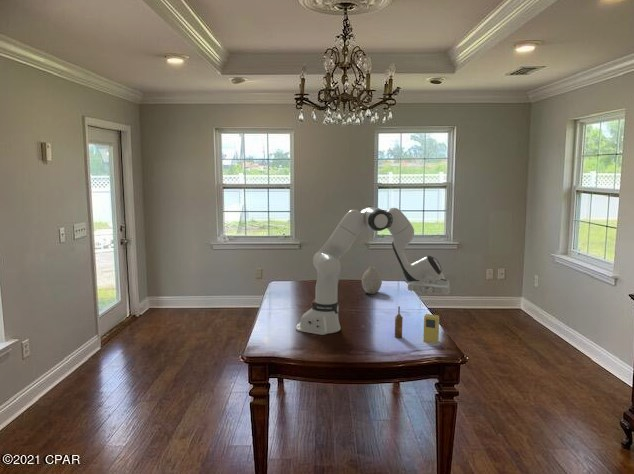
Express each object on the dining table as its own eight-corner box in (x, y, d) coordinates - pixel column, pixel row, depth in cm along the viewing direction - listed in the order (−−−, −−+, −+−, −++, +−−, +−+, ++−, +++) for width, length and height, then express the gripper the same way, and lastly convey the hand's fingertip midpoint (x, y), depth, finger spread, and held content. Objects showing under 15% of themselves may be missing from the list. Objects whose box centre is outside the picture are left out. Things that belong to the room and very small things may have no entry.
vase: (365, 295, 303) (365, 269, 301) (359, 290, 316) (359, 265, 313) (384, 294, 306) (384, 269, 303) (377, 289, 318) (378, 264, 316)
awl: (394, 338, 225) (395, 307, 223) (395, 335, 228) (395, 305, 226) (401, 338, 224) (402, 307, 222) (402, 336, 227) (403, 305, 225)
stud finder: (425, 338, 224) (426, 313, 222) (438, 340, 221) (439, 315, 219) (423, 341, 220) (424, 316, 218) (436, 343, 218) (437, 318, 216)
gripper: (411, 276, 245) (404, 282, 233) (452, 280, 237) (447, 287, 224) (411, 288, 246) (403, 295, 234) (451, 293, 238) (446, 300, 225)
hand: (425, 291), depth 229 cm, fingers closed
